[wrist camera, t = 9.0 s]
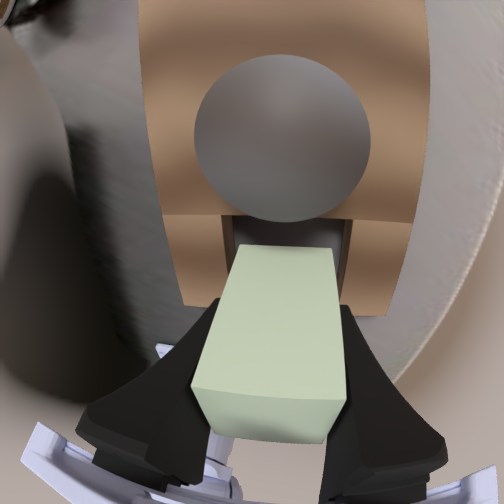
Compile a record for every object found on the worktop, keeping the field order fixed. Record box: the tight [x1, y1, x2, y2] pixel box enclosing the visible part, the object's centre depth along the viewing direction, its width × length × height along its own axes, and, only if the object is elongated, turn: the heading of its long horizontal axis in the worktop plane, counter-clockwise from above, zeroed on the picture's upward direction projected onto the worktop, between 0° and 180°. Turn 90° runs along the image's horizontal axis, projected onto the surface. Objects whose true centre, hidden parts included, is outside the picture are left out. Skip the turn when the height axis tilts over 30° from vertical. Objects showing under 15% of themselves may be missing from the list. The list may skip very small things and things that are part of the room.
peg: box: [191, 245, 346, 444], centre depth 10 cm, size 4×4×7 cm
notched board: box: [138, 0, 430, 316], centre depth 11 cm, size 20×12×2 cm, turn 3°
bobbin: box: [194, 54, 371, 222], centre depth 9 cm, size 5×5×4 cm
